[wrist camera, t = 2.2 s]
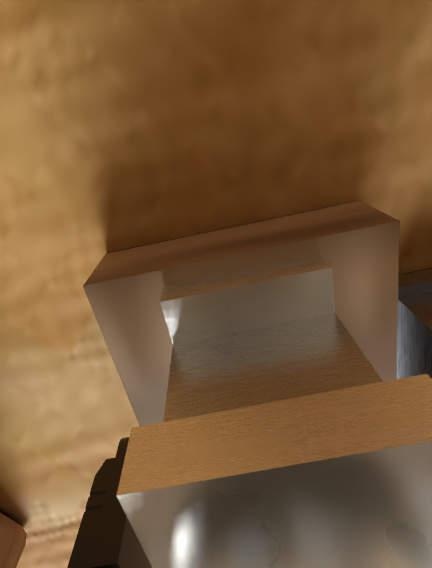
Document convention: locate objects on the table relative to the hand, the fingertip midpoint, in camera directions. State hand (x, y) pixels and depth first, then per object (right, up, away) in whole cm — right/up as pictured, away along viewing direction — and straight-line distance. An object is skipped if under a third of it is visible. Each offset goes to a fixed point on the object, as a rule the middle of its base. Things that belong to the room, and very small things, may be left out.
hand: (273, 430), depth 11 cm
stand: (0, +2, +5) cm, 5 cm away
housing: (0, +1, +2) cm, 2 cm away
